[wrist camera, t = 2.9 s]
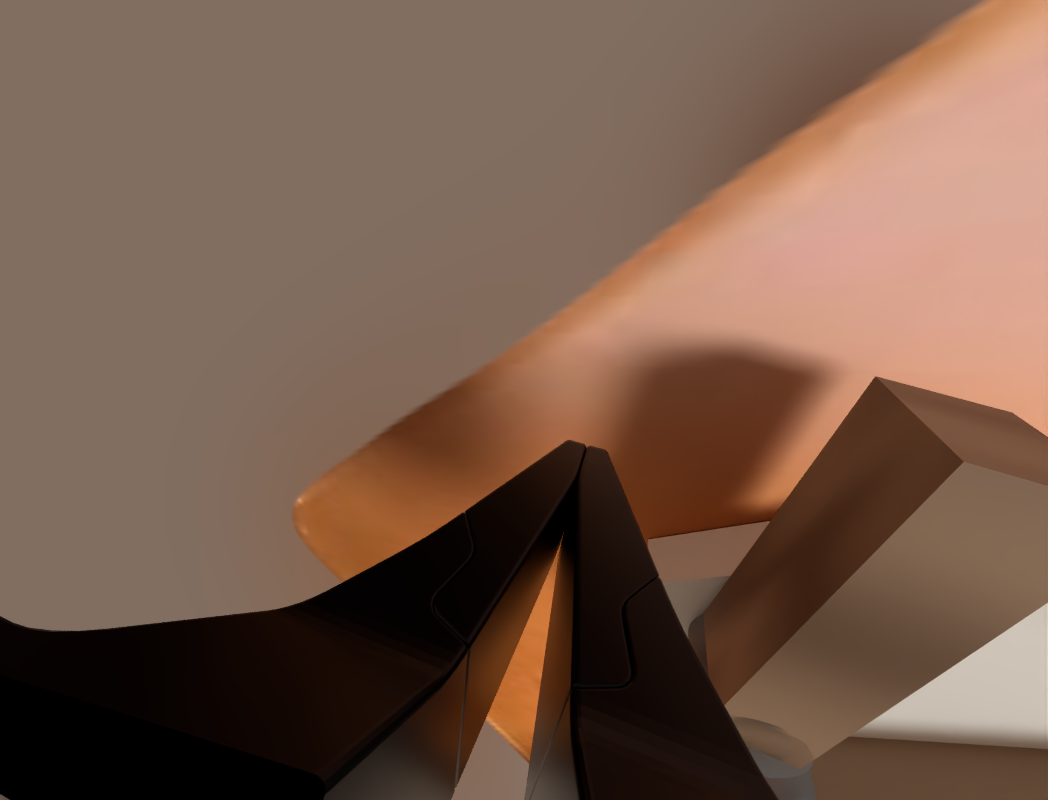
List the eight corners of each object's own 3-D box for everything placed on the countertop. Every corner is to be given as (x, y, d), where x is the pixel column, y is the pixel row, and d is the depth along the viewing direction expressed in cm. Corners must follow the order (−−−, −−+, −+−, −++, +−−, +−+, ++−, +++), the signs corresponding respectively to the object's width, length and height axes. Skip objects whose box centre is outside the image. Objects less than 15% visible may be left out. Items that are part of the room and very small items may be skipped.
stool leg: (758, 677, 14) (778, 789, 11) (675, 644, 14) (677, 745, 12) (1021, 415, 8) (1182, 525, 5) (867, 374, 8) (952, 457, 6)
